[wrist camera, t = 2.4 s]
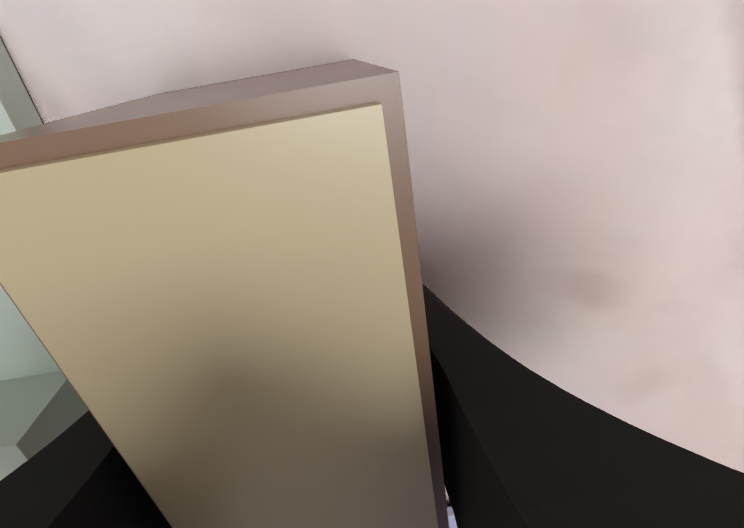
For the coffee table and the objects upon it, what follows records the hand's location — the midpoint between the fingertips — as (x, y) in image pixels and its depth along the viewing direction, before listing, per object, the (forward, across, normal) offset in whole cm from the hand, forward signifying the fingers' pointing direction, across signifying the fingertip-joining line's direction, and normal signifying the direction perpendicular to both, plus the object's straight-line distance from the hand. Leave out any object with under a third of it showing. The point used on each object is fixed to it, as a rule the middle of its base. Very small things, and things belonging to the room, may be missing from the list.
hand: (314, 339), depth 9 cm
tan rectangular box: (+2, 0, 0) cm, 2 cm away
